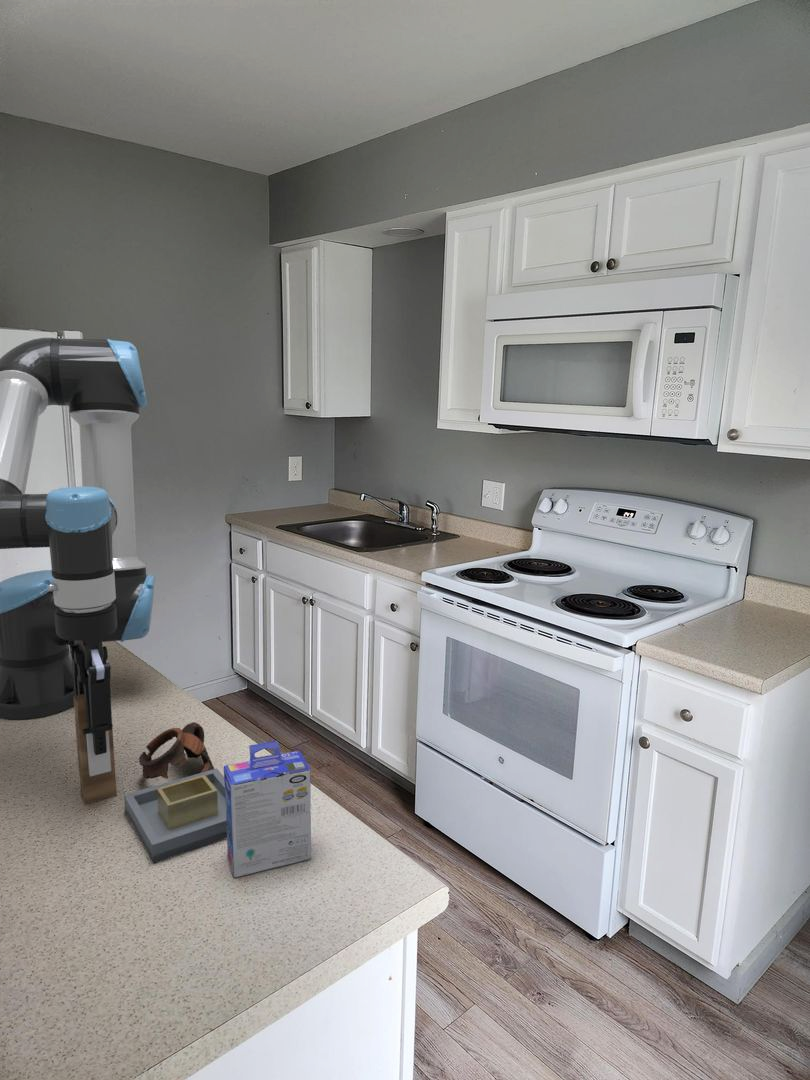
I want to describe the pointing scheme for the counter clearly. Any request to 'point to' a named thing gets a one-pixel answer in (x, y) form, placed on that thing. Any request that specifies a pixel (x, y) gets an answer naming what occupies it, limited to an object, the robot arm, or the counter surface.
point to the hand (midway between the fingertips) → (96, 765)
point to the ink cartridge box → (267, 810)
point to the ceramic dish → (183, 838)
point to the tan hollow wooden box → (187, 802)
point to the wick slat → (94, 785)
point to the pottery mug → (175, 751)
